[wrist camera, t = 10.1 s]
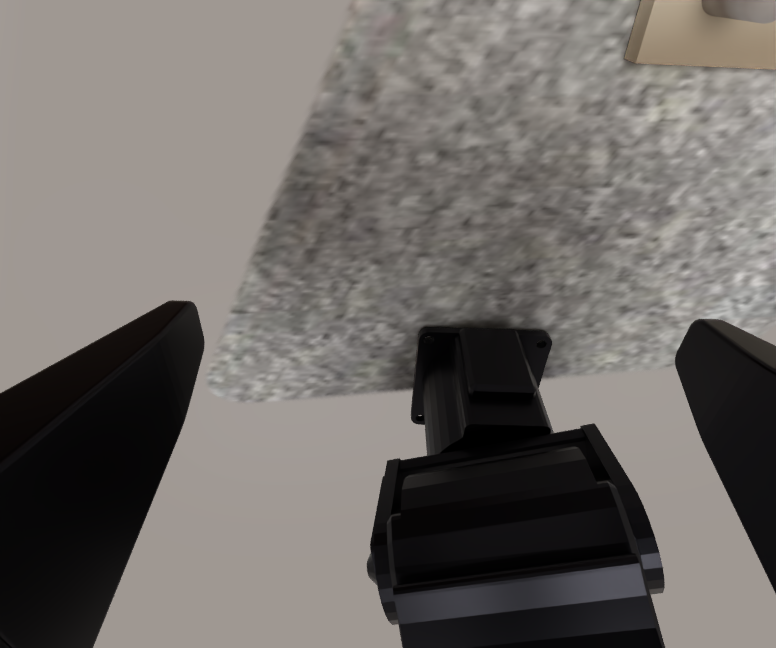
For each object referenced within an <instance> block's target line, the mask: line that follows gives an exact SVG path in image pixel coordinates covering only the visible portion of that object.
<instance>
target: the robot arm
mask: <svg viewBox="0 0 776 648" xmlns="http://www.w3.org/2000/svg"><path fill="white" fill-rule="evenodd" d="M427 336H431V337H433V338H431V339H425V337H427ZM540 340H544V341H543V342H542V343H537V342H538V341H540ZM551 345H552V340H551V338H550V336H549V334H548V333H547V332H544V331H527V330H511V329H482V328H440V327H426V328H423V329H422V330H421V331H420V332H419V334H418V343H417V354H416V365H415V375H414V386H413V396H412V407H411V420H412V421H413V422H414V423H416V424H422V425H425V432H426V446H427V456H423V457H417V458H412V459H406V460H400V459H393V460H389V461H387V466H386V471H385V476H383V479H382V484H381V489H380V495H379V500H378V506H377V511H376V516H375V521H374V527H373V532H372V537H371V544H370V546H371V547H370V548H371V554H370V556H369V558H368V561H367V572H368V576H369V577H370V579H371V580H372V581H373V582H375V584H376V585H377V586H378V591H379V595H380V599H381V603H382V606H383V609H384V612H385V615H386V617H387V619H388V621H389V622H390V623H391V624H392V625H395V624H399V629H400V635H401V641H402V647H403V648H665V646H664V642H663V638H662V635H661V631H660V627H659V624H658V620H657V616H656V613H655V609H654V606H653V602H652V598H651V595H650V594H657V593H663V590H664V574H663V567H662V563H661V558H660V554H659V550H658V547H657V543H656V540H655V536H654V533H653V530H652V528H651V525H650V522H649V519H648V516H647V514H646V511H645V509H644V506H643V504H642V502H641V500H640V498H639V496H638V493H637V492H636V490H635V488H634V486H633V485H632V483H631V481H630V480H629V478H628V476H627V475H626V473H625V472H624V470H623V468H622V467H621V465H620V463H619V462H618V460H617V459H616V457H615V455H614V454H613V452H612V451H611V449H610V447H609V446H608V444H607V443H606V441H605V440H604V438H603V436H602V435H601V433H600V431H599V430H598V428H597V427H596V425H595V424H589V425H583V426H581V428H580V429H574V430H569V431H563V432H557V433H553V430H552V427H551V424H550V421H549V418H548V415H547V412H546V410H545V406H544V404H543V401H542V398H541V395H540V392H539V389H538V388H539V385H540V381H541V378H542V375H543V372H544V368H545V365H546V362H547V358H548V355H549V352H550V349H551ZM203 351H204V336H203V331H202V328H201V323H200V319H199V315H198V311H197V307H196V306H195V304H194V303H193V302H191V301H168V302H166V303H165V304H162V305H161V306H159V307H157V308H155V309H153V310H152V311H150V312H148V313H146V314H144V315H142V316H141V317H139V318H137V319H135V320H133V321H132V322H130V323H128V324H126V325H124V326H122V327H120V328H119V329H117V330H115V331H113V332H111V333H110V334H108V335H106V336H104V337H102V338H100V339H99V340H97V341H95V342H93V343H91V344H89V345H88V346H86V347H84V348H82V349H80V350H78V351H77V352H75V353H73V354H71V355H69V356H67V357H66V358H64V359H62V360H60V361H58V362H57V363H55V364H53V365H51V366H49V367H47V368H46V369H44V370H42V371H41V372H38V373H37V374H35V375H33V376H31V377H29V378H27V379H26V380H24V381H22V382H20V383H18V384H16V385H15V386H13V387H11V388H9V389H7V390H5V391H4V392H2V393H0V648H93V646H94V644H95V641H96V639H97V636H98V634H99V631H100V629H101V626H102V624H103V622H104V619H105V617H106V614H107V612H108V609H109V607H110V604H111V602H112V599H113V597H114V594H115V592H116V589H117V587H118V585H119V582H120V580H121V577H122V575H123V572H124V569H125V567H126V565H127V562H128V560H129V557H130V555H131V553H132V550H133V548H134V545H135V542H136V540H137V538H138V535H139V533H140V530H141V528H142V525H143V523H144V521H145V518H146V516H147V513H148V511H149V508H150V506H151V503H152V501H153V498H154V496H155V494H156V491H157V489H158V486H159V484H160V481H161V479H162V476H163V474H164V471H165V469H166V466H167V464H168V462H169V459H170V456H171V454H172V451H173V449H174V447H175V444H176V442H177V439H178V437H179V434H180V432H181V429H182V426H183V424H184V421H185V417H186V414H187V411H188V407H189V403H190V400H191V396H192V393H193V389H194V385H195V381H196V378H197V374H198V370H199V366H200V362H201V359H202V355H203ZM675 365H676V369H677V372H678V375H679V377H680V380H681V383H682V386H683V389H684V391H685V395H686V397H687V400H688V403H689V406H690V409H691V412H692V414H693V417H694V420H695V423H696V426H697V428H698V431H699V434H700V436H701V438H702V441H703V443H704V445H705V448H706V450H707V452H708V454H709V456H710V458H711V460H712V462H713V464H714V466H715V468H716V470H717V473H718V475H719V477H720V479H721V481H722V483H723V485H724V487H725V489H726V491H727V493H728V495H729V497H730V499H731V502H732V504H733V506H734V508H735V510H736V512H737V514H738V516H739V518H740V520H741V522H742V525H743V527H744V529H745V531H746V533H747V535H748V537H749V539H750V541H751V543H752V545H753V547H754V549H755V552H756V554H757V555H758V558H759V560H760V562H761V564H762V566H763V568H764V570H765V572H766V574H767V576H768V578H769V581H770V582H771V585H772V587H773V589H774V591H775V593H776V346H775V345H773V344H770V343H768V342H766V341H764V340H762V339H760V338H758V337H756V336H754V335H752V334H750V333H748V332H746V331H744V330H742V329H740V328H737V327H735V326H733V325H731V324H729V323H727V322H725V321H723V320H718V319H698V320H696V321H694V322H693V323H692V324H691V326H690V327H689V329H688V331H687V333H686V335H685V337H684V339H683V341H682V343H681V345H680V347H679V349H678V351H677V353H676V357H675ZM418 415H422V416H418Z"/></svg>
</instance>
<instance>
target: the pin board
mask: <svg viewBox="0 0 776 648" xmlns="http://www.w3.org/2000/svg"><path fill="white" fill-rule="evenodd" d="M624 59H626V60H629V61H631V62H634V63H639V64H662V65H685V66H708V67H730V68H753V69H776V0H641V2H640V6H639V9H638V13H637V16H636V19H635V23H634V26H633V30H632V33H631V37H630V40H629V44H628V47H627V51H626V54H625V57H624Z"/></svg>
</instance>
